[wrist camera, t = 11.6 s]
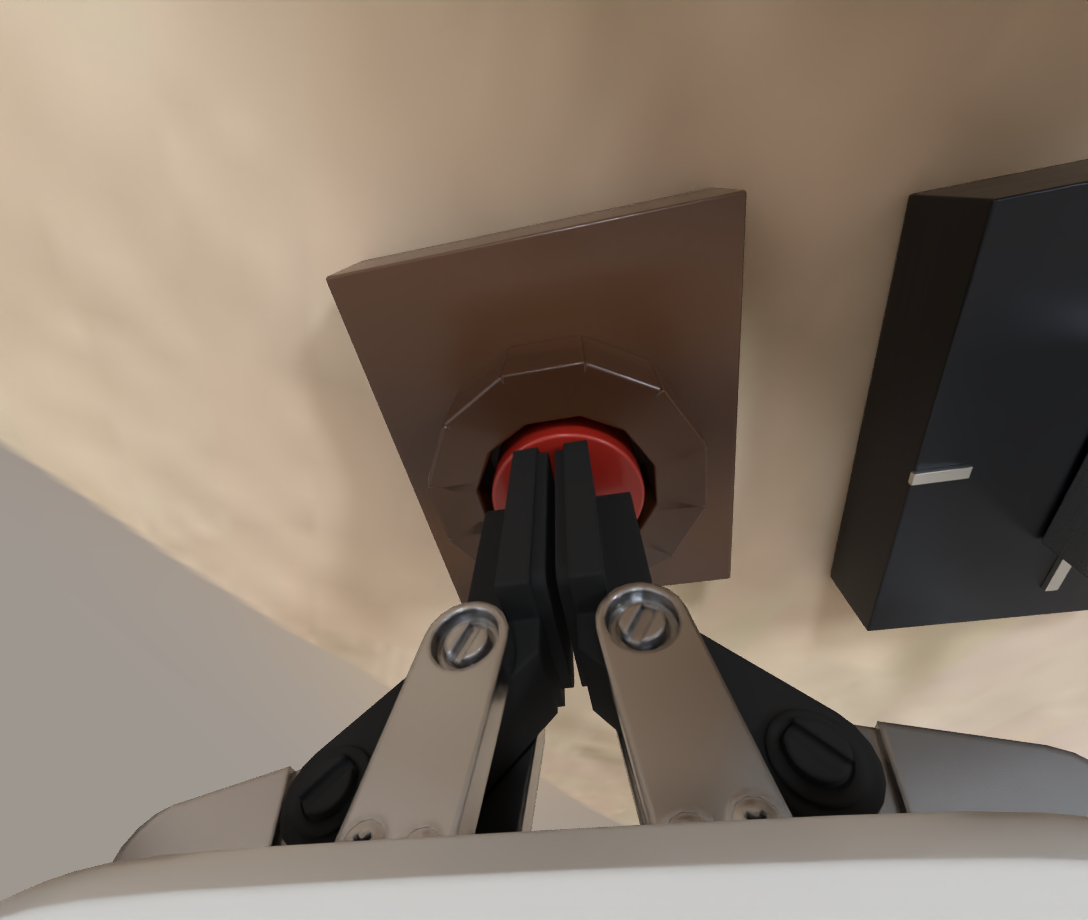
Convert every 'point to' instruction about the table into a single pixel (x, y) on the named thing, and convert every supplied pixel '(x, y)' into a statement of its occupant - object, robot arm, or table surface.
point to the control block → (566, 363)
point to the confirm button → (606, 450)
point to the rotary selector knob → (1072, 523)
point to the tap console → (974, 408)
